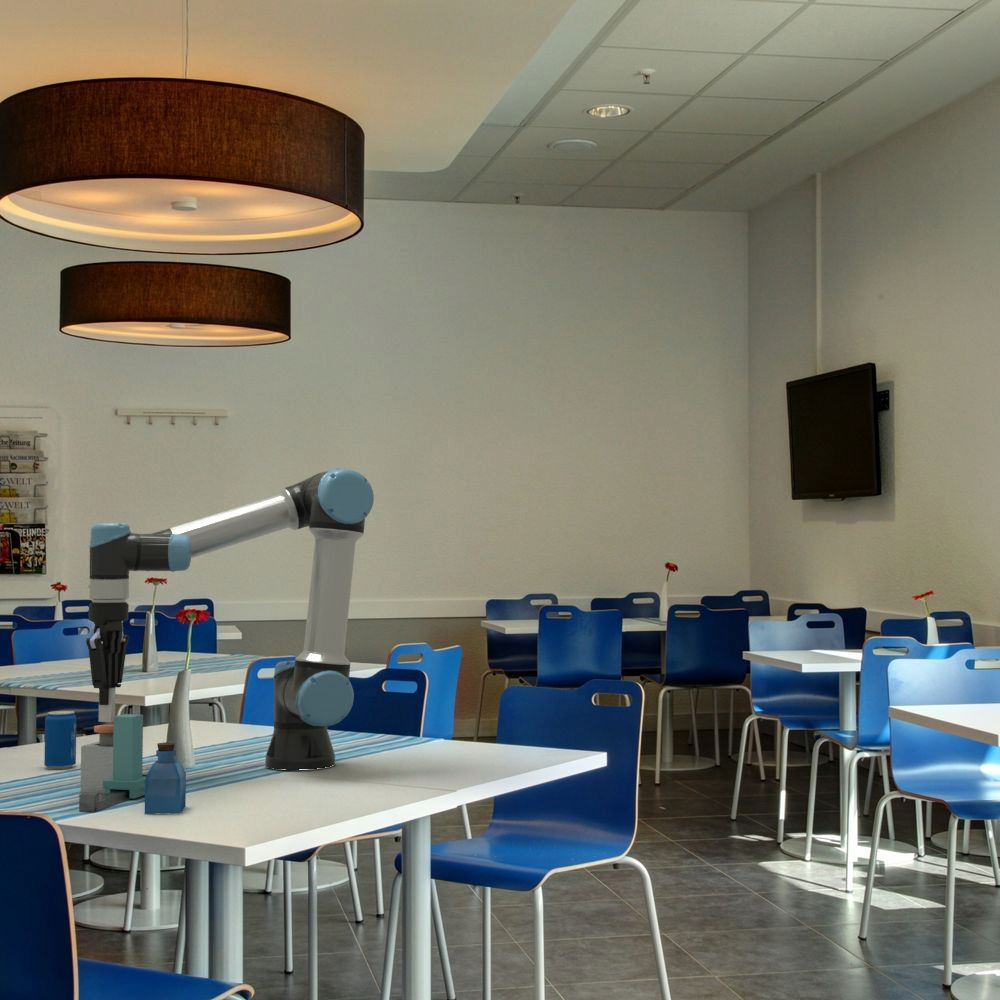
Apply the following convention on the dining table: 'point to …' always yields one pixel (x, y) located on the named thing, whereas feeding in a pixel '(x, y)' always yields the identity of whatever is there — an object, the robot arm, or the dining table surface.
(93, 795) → the rail
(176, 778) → the perfume bottle
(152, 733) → the dining table surface
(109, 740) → the orange push button
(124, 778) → the carriage
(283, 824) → the dining table surface
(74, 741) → the beverage can
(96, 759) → the button housing
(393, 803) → the dining table surface
